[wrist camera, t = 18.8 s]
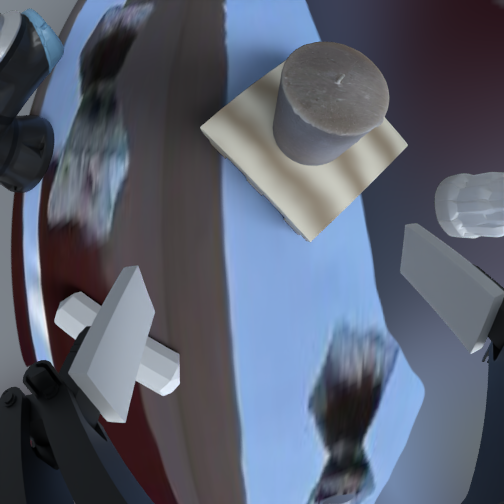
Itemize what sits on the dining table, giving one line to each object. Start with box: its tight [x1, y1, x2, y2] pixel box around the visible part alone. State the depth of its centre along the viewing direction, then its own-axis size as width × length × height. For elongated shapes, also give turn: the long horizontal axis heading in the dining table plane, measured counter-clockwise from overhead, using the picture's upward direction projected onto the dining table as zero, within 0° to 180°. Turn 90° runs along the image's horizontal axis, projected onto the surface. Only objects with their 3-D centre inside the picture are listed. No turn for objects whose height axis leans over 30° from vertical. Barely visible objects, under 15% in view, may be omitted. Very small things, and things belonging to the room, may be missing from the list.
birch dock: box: [200, 61, 408, 242], centre depth 36 cm, size 20×20×6 cm
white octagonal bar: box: [54, 292, 180, 396], centre depth 40 cm, size 7×7×24 cm
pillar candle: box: [273, 42, 389, 166], centre depth 26 cm, size 10×10×15 cm
